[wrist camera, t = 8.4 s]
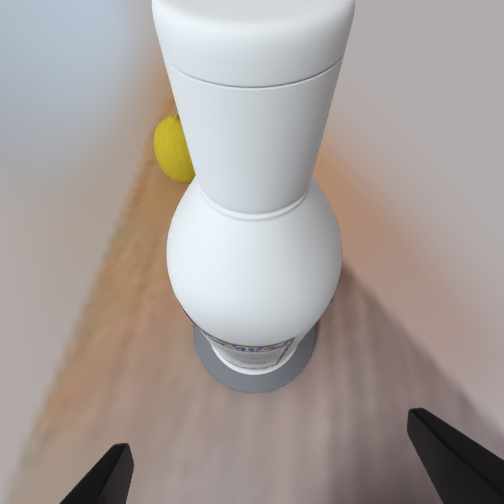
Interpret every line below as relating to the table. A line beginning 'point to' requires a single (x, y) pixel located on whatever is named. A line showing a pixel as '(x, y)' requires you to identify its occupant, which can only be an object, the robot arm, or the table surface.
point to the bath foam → (253, 168)
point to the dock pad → (254, 380)
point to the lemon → (173, 150)
